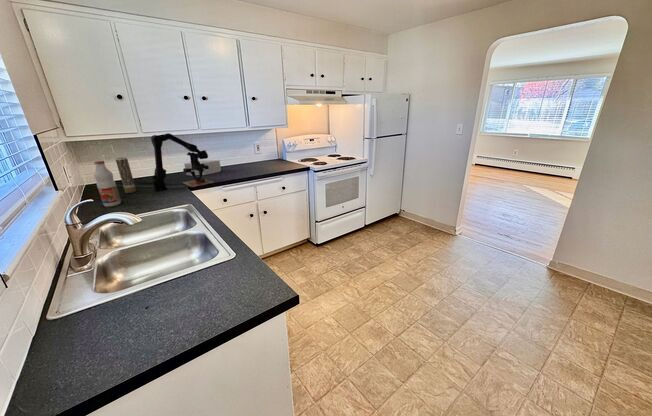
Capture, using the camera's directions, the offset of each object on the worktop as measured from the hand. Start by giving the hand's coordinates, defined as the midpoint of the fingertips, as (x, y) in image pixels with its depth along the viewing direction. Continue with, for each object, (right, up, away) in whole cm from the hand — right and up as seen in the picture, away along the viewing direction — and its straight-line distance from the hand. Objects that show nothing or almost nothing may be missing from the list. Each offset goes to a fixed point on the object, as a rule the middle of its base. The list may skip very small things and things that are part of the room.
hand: (198, 178), depth 222 cm
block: (-7, +8, +28) cm, 30 cm away
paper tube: (-38, -13, -25) cm, 47 cm away
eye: (+6, -3, -5) cm, 8 cm away
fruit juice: (-32, -22, -49) cm, 62 cm away
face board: (+2, -4, -3) cm, 5 cm away
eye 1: (0, -1, 0) cm, 1 cm away
